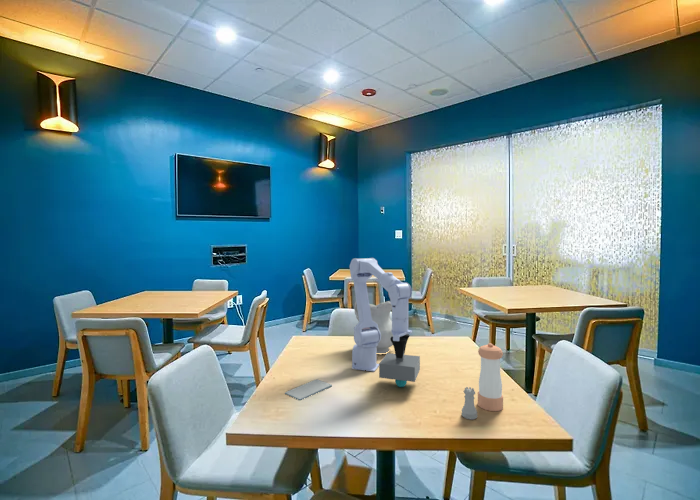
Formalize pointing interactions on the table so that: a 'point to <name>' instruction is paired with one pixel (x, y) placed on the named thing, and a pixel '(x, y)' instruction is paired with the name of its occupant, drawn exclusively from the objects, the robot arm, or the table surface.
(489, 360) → the pepper shaker
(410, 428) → the table surface
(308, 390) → the smartphone
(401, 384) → the ball
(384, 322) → the ceramic pitcher
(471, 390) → the rook chess piece
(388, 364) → the gray square knob slab
